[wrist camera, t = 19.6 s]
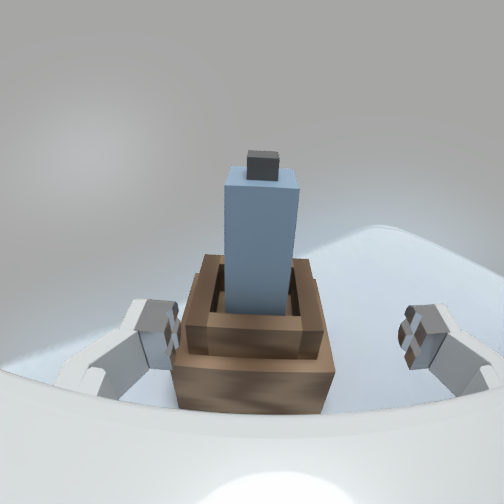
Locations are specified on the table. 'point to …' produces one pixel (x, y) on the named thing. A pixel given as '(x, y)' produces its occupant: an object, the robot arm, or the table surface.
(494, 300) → the table surface
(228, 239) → the plug block
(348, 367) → the table surface
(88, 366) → the robot arm
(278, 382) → the socket block
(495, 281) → the table surface
